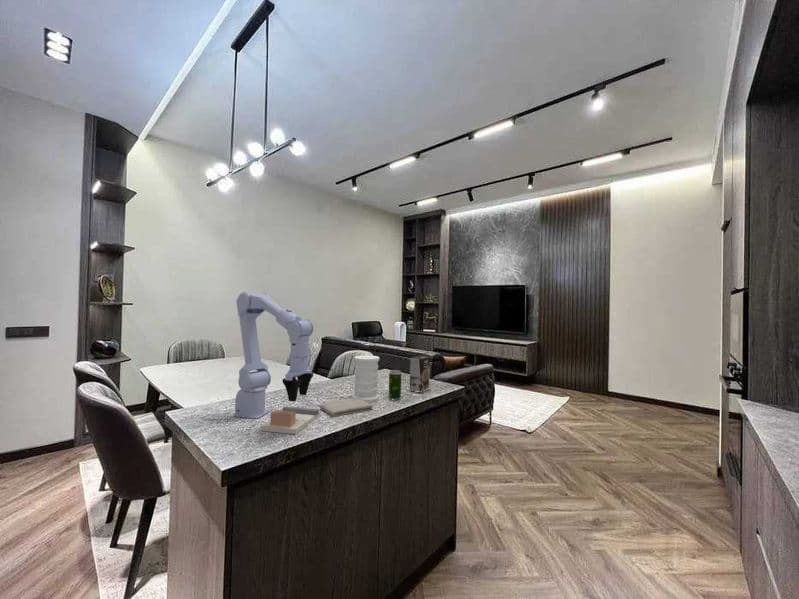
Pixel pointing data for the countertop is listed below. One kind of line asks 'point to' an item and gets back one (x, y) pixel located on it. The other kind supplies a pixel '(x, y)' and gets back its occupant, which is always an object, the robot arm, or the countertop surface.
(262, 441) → the countertop surface
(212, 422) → the countertop surface
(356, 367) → the decorative container
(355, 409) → the washcloth
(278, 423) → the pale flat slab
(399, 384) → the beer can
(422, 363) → the coffee box
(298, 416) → the ticket board
